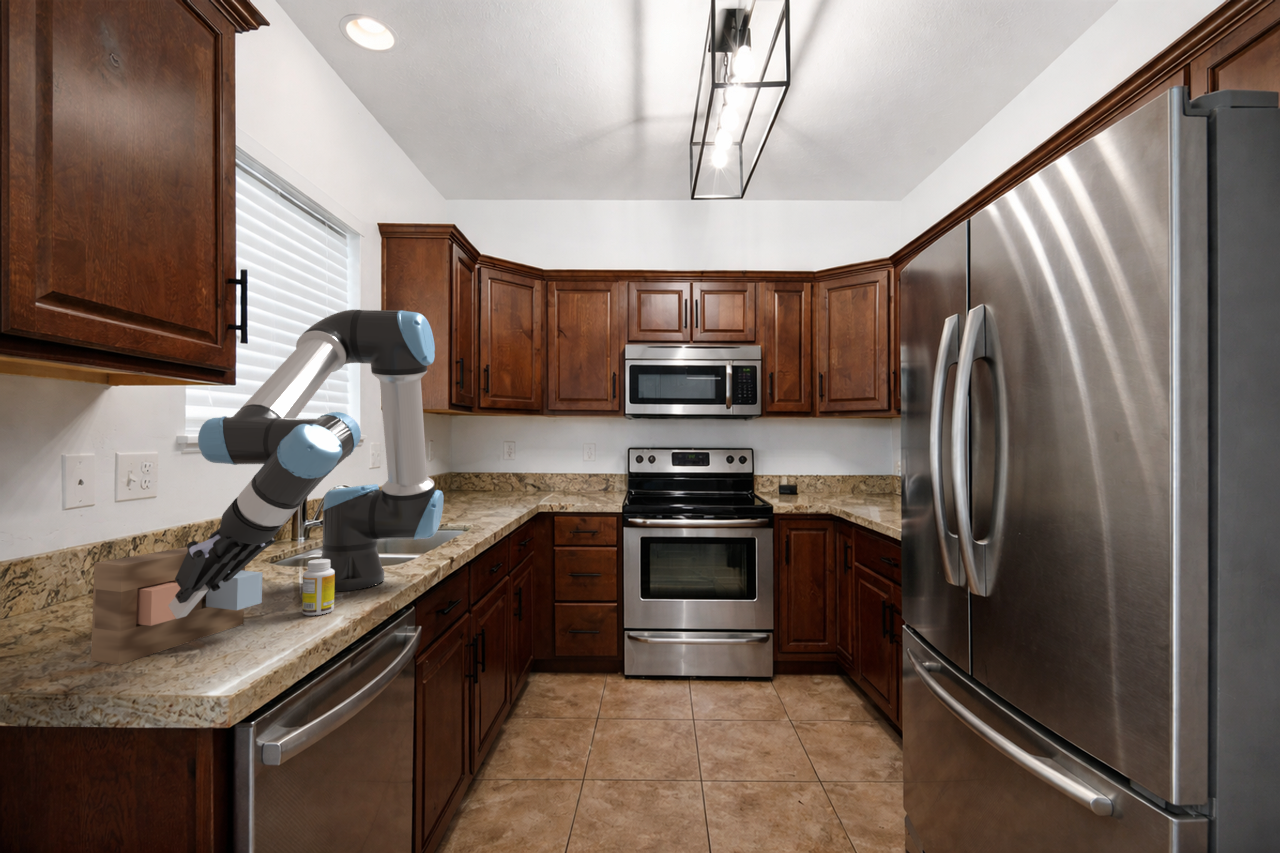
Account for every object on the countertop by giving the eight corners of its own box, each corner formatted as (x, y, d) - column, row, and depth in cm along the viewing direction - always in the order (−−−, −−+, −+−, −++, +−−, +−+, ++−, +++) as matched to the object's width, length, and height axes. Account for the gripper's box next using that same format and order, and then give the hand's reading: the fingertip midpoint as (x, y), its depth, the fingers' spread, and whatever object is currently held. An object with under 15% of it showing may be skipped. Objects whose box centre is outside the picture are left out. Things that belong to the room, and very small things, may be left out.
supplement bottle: (334, 606, 116) (336, 556, 117) (333, 614, 111) (334, 562, 112) (303, 610, 114) (304, 559, 114) (300, 618, 109) (301, 564, 109)
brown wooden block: (218, 621, 107) (221, 541, 107) (243, 624, 105) (245, 543, 105) (91, 660, 87) (94, 562, 88) (118, 665, 86) (122, 565, 86)
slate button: (231, 599, 102) (232, 569, 103) (261, 602, 101) (262, 572, 101) (205, 606, 98) (206, 575, 98) (236, 610, 96) (237, 578, 96)
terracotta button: (150, 612, 94) (151, 580, 94) (181, 617, 92) (182, 583, 92) (118, 621, 90) (119, 587, 90) (150, 625, 88) (151, 590, 88)
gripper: (286, 488, 92) (206, 582, 97) (205, 495, 80) (118, 603, 84) (311, 522, 91) (229, 617, 95) (232, 535, 78) (142, 643, 83)
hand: (177, 610), depth 90 cm, fingers closed
